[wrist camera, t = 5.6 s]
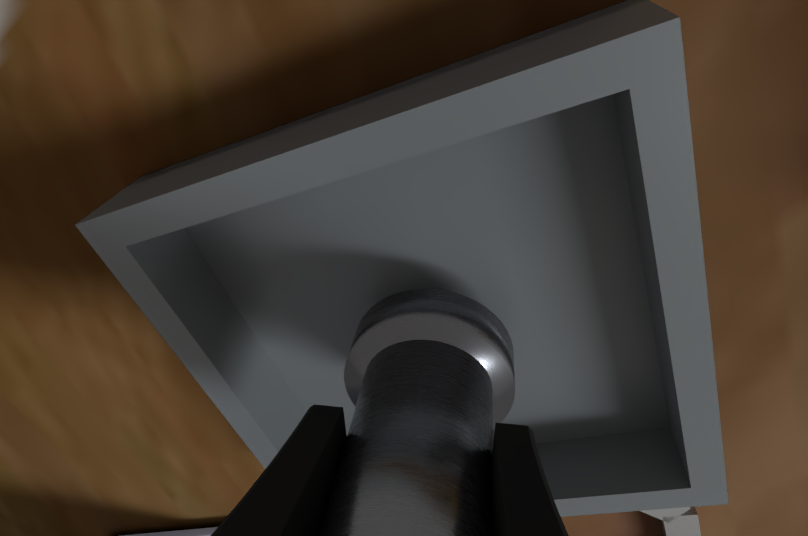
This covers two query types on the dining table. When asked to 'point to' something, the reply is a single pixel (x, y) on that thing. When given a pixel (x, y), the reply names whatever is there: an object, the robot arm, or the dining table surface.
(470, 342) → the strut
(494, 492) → the robot arm
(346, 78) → the dining table surface
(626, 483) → the tray
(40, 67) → the dining table surface
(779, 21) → the dining table surface
